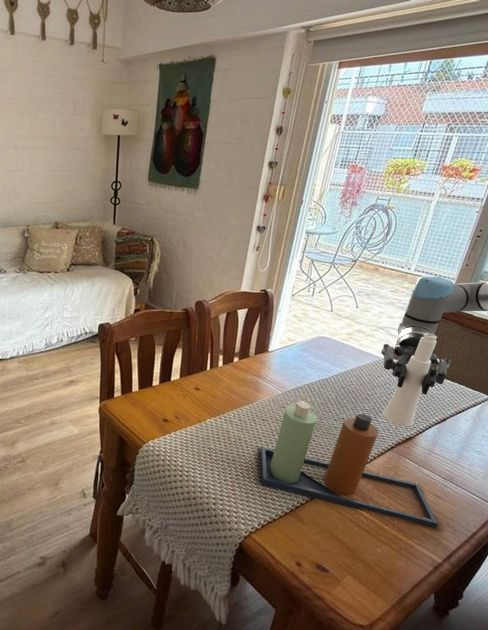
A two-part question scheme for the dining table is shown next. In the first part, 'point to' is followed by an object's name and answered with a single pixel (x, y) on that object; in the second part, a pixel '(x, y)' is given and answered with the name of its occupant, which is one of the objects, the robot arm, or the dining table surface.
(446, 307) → the robot arm
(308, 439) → the sage bottle
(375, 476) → the tray
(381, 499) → the dining table surface
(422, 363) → the cosmetic bottle
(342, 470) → the amber bottle
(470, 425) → the dining table surface
